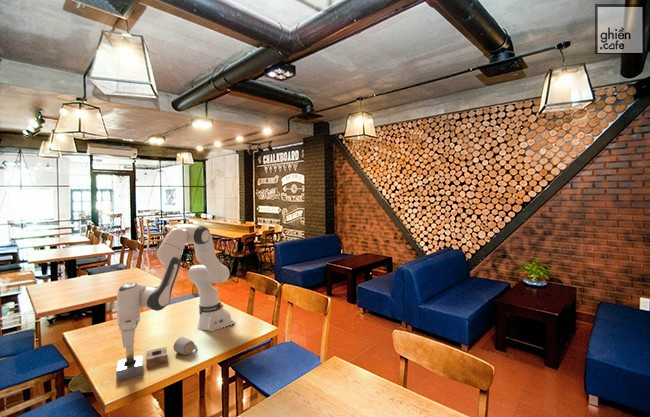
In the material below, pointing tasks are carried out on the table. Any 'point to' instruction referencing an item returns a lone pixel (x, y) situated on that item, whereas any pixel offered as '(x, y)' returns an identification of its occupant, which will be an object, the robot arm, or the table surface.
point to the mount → (156, 357)
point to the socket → (129, 369)
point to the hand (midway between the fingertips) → (129, 348)
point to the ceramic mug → (184, 346)
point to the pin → (130, 356)
